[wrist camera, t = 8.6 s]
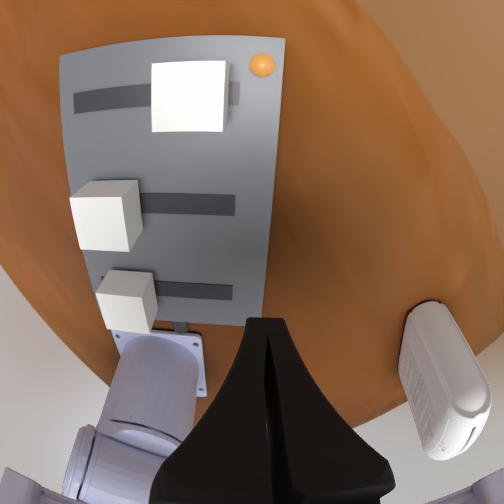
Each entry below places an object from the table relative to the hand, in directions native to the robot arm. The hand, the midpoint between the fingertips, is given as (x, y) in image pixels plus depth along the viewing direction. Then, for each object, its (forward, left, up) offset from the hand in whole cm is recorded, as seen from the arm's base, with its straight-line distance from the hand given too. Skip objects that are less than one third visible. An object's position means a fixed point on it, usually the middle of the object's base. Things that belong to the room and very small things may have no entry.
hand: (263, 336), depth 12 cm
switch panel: (+2, +6, -9) cm, 11 cm away
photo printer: (-11, -16, -10) cm, 22 cm away
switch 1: (-4, +8, -7) cm, 11 cm away
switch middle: (+2, +8, -7) cm, 11 cm away
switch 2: (+8, +4, -7) cm, 11 cm away
